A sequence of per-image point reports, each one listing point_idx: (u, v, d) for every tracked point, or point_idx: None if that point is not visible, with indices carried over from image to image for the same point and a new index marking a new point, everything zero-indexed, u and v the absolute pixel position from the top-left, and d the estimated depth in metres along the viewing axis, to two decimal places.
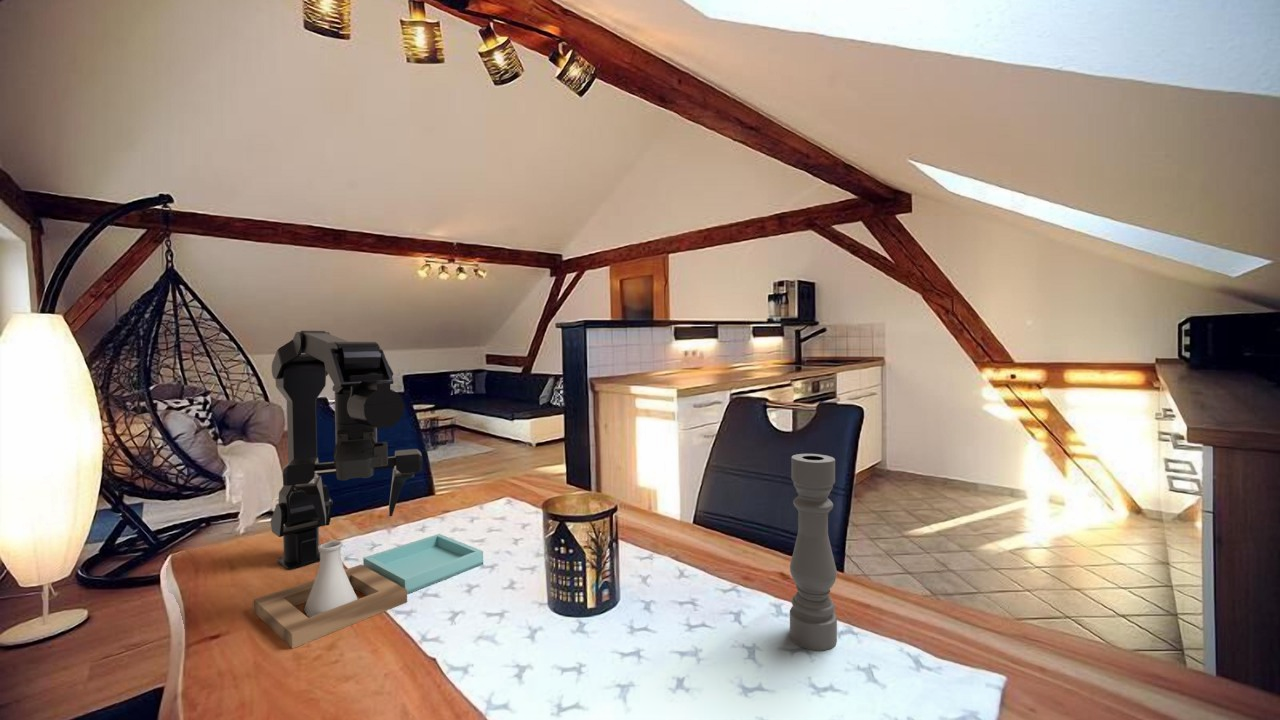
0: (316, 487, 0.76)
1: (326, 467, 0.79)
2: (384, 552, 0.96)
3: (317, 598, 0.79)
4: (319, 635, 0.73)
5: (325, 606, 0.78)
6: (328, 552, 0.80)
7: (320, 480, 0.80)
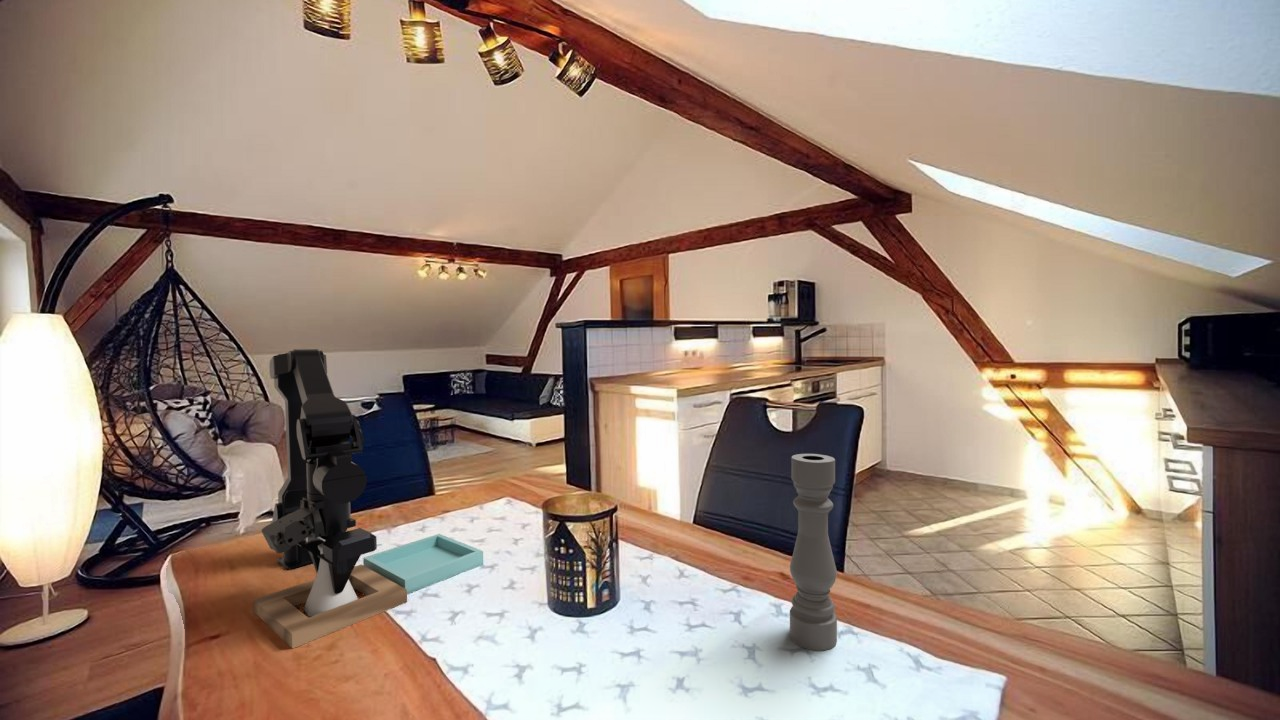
0: (302, 547, 0.81)
1: None
2: (384, 552, 0.96)
3: (317, 598, 0.79)
4: (319, 635, 0.73)
5: (325, 605, 0.78)
6: None
7: None
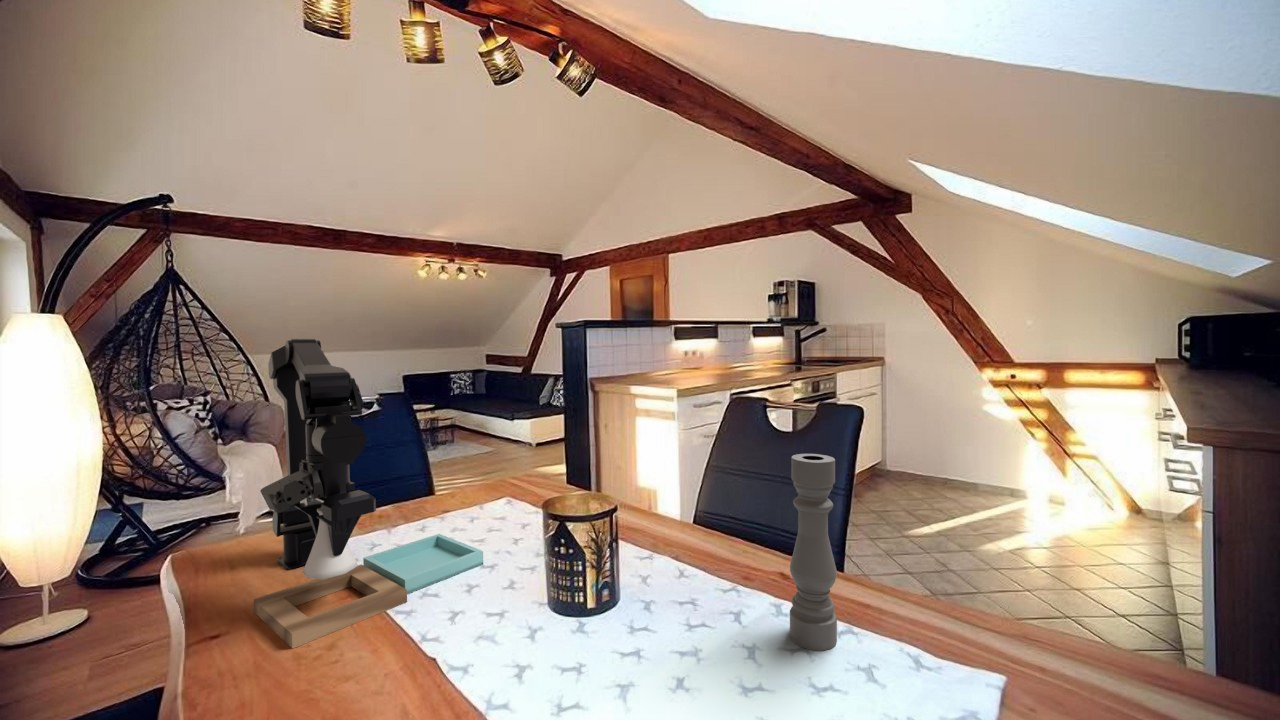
0: (301, 510, 0.81)
1: None
2: (384, 552, 0.96)
3: (316, 560, 0.78)
4: (319, 635, 0.73)
5: (324, 568, 0.78)
6: None
7: None
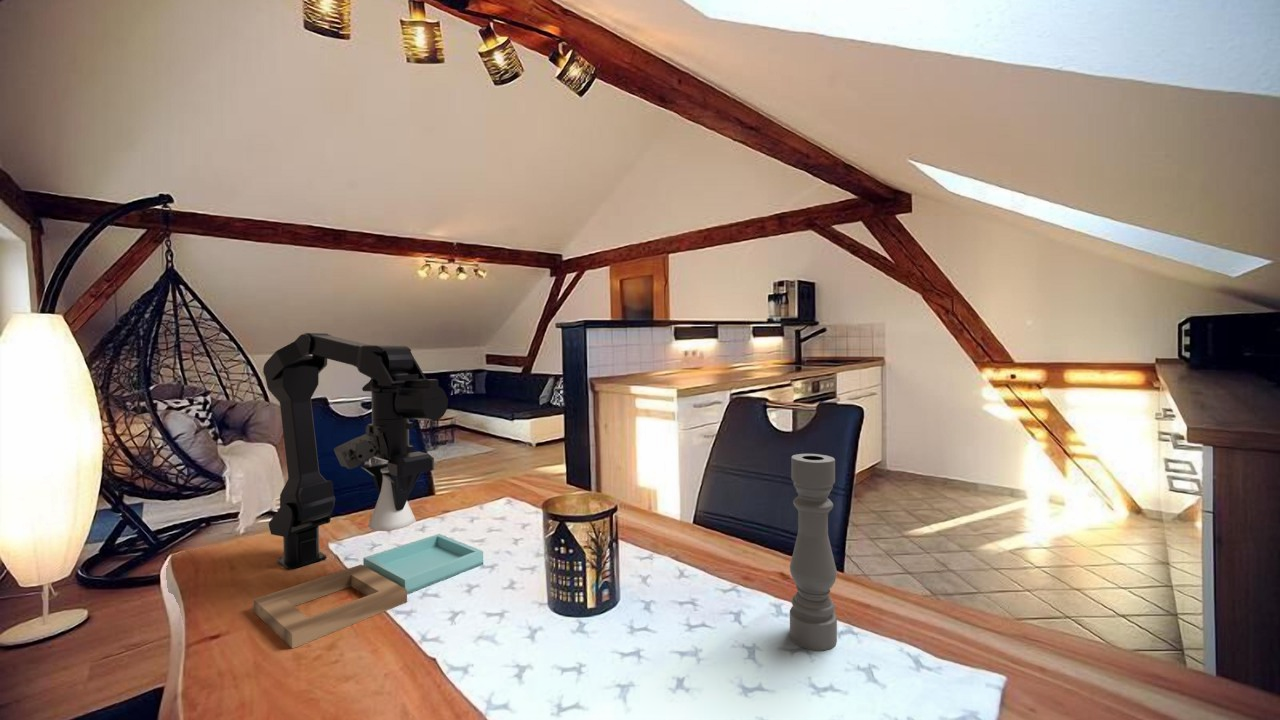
0: (367, 469, 0.90)
1: None
2: (384, 552, 0.96)
3: (381, 514, 0.87)
4: (319, 635, 0.73)
5: (388, 521, 0.87)
6: None
7: None
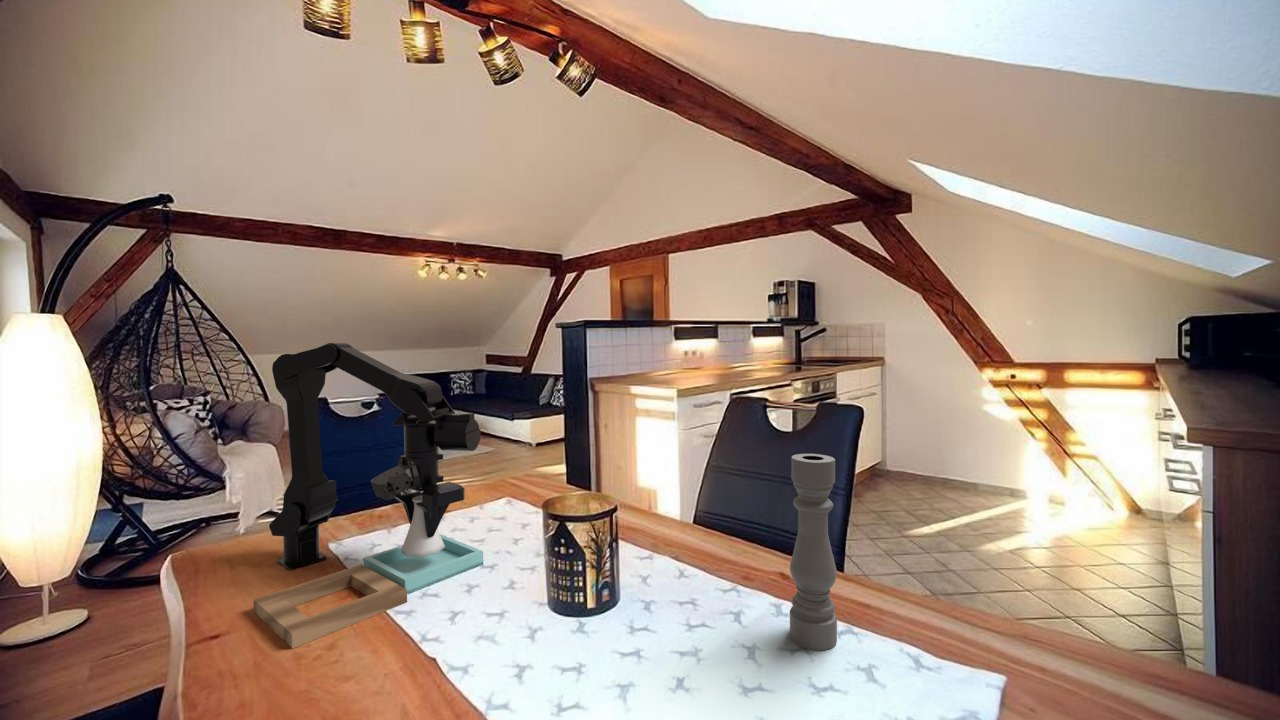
0: (399, 498, 0.95)
1: None
2: (384, 552, 0.96)
3: (414, 542, 0.93)
4: (319, 635, 0.73)
5: (421, 548, 0.92)
6: None
7: (421, 493, 0.98)
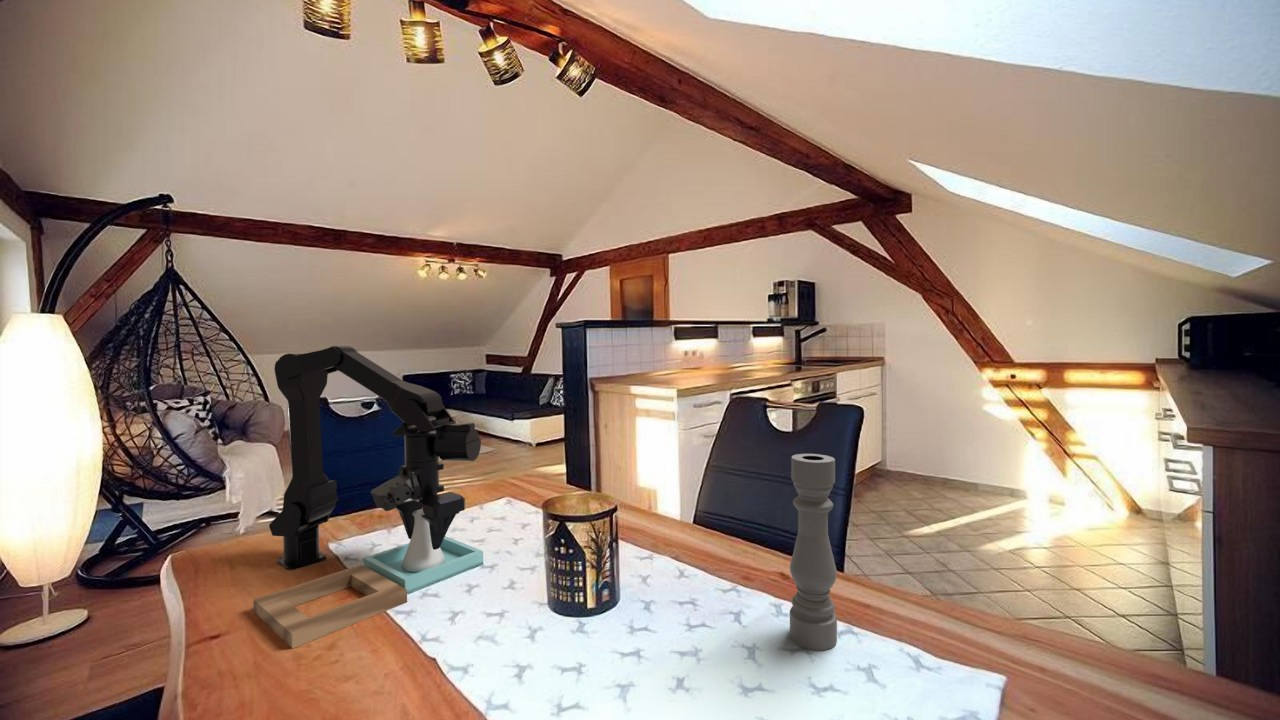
0: None
1: None
2: (384, 552, 0.96)
3: (415, 556, 0.93)
4: (319, 635, 0.73)
5: (422, 562, 0.92)
6: (422, 518, 0.94)
7: (418, 501, 0.99)
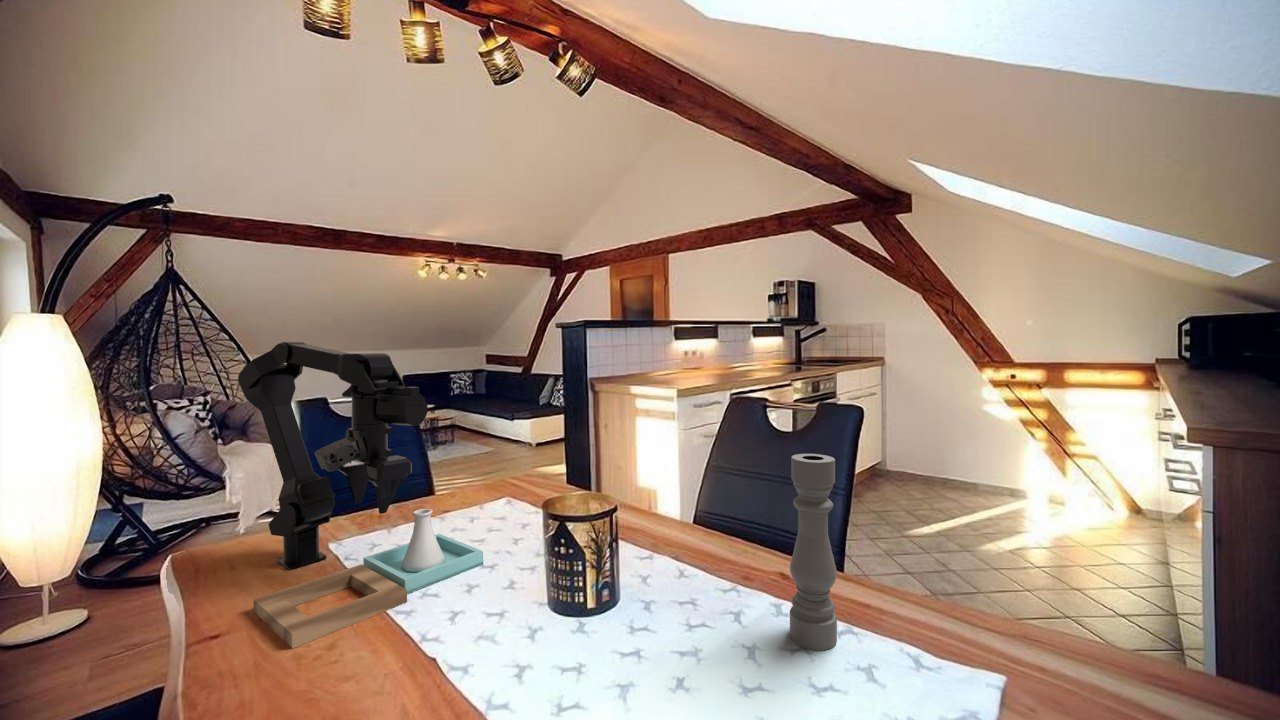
0: (341, 470, 0.95)
1: None
2: (384, 552, 0.96)
3: (415, 556, 0.93)
4: (319, 635, 0.73)
5: (422, 562, 0.92)
6: (422, 518, 0.94)
7: (365, 466, 0.98)
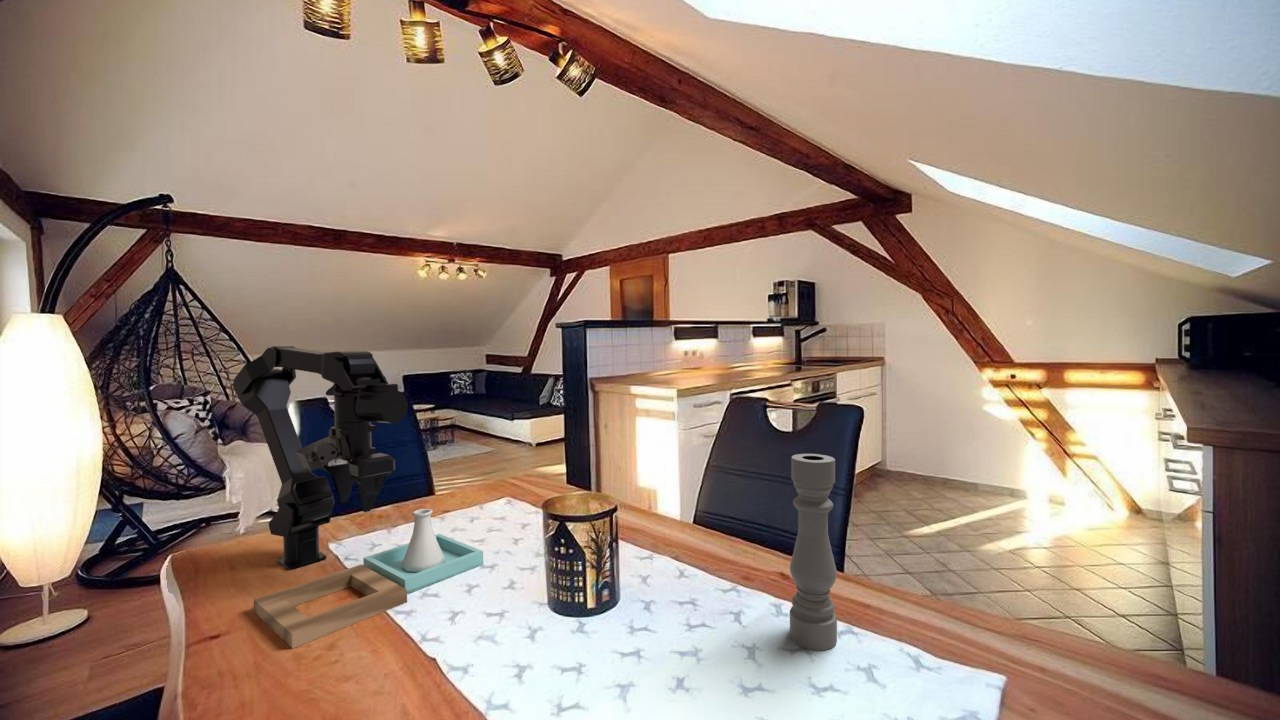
0: (325, 469, 0.94)
1: None
2: (384, 552, 0.96)
3: (415, 556, 0.93)
4: (319, 635, 0.73)
5: (422, 562, 0.92)
6: (422, 518, 0.94)
7: None
